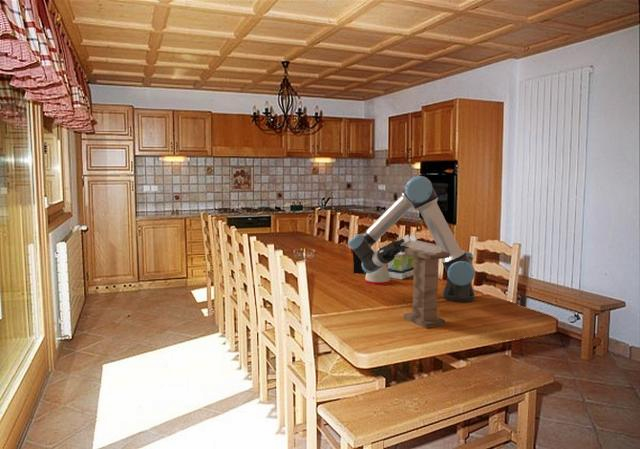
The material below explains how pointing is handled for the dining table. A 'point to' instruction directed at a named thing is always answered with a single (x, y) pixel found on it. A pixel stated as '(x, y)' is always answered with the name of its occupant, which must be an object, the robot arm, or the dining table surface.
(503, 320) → the dining table surface
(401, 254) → the tea box
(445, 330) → the dining table surface
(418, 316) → the walnut pedestal
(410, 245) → the aluminium bar
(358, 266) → the electrical component
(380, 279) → the kitchen timer
